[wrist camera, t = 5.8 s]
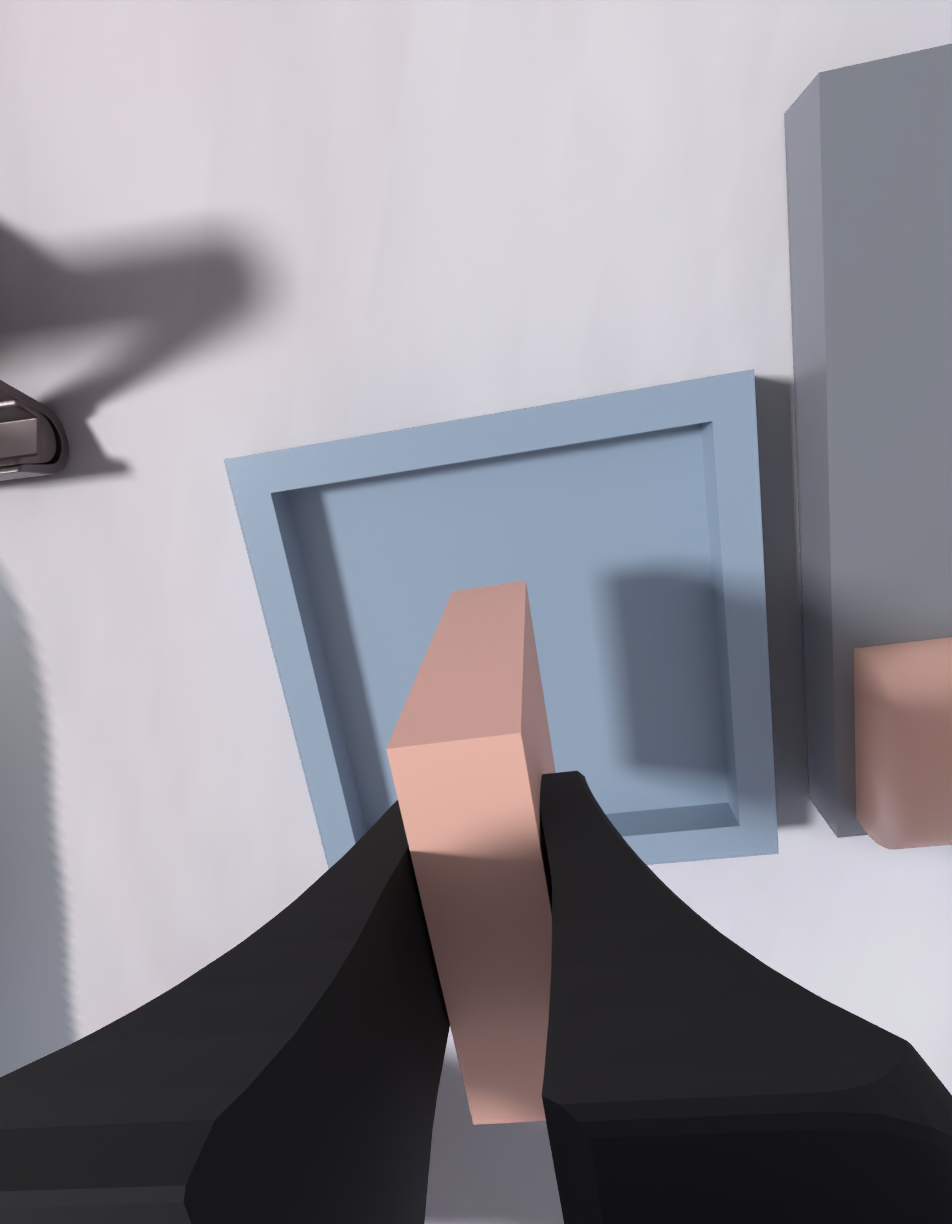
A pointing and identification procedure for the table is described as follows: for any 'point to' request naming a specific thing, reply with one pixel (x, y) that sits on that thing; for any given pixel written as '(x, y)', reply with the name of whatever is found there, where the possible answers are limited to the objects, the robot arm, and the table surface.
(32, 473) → the portable electronic device stand
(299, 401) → the table surface
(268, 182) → the table surface
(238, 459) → the tray
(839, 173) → the slotted grey platform
